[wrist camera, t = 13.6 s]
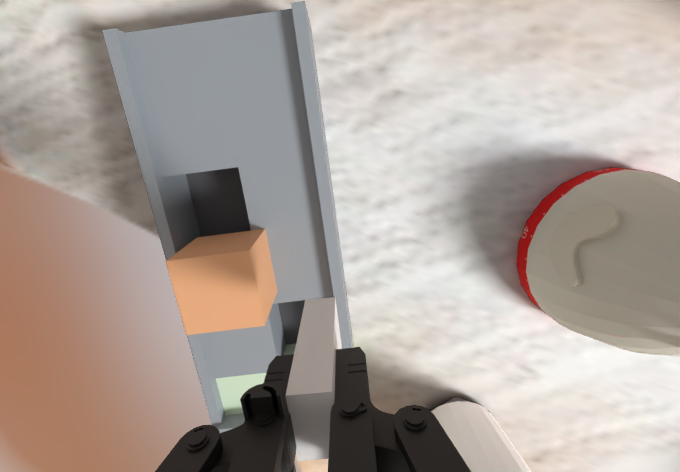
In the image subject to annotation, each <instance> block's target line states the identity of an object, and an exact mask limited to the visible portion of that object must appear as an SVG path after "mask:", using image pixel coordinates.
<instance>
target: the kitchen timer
mask: <svg viewBox="0 0 680 472" xmlns="http://www.w3.org/2000/svg"><path fill="white" fill-rule="evenodd" d="M517 268H518V273H519V277H520V282H521V285H522V287H523V288H524V290H525V291H526V293H527V295H528V296H529V298H530V299H531V301H532V302H533V303H534V304H536V305H537V306H538V307H539V308H540V309H541V310H543V311H544V312H545V313H546V314H548V315H549V316H550V317H551V318H553V319H554V320H555V321H556V322H558V323H559V324H561V325H562V326H564V327H566V328H568V329H570V330H572V331H575V332H577V333H580V334H582V335H585V336H588V337H590V338H593V339H596V340H599V341H601V342H604V343H607V344H609V345H612V346H615V347H618V348H621V349H624V350H628V351H632V352H637V353H644V354H655V355H669V356H680V182H678V181H675V180H673V179H671V178H669V177H666V176H663V175H661V174H658V173H654V172H649V171H641V170H632V169H622V168H611V167H610V168H605V169H600V170H595V171H590V172H585V173H583V174H581V175H579V176H577V177H575V178H573V179H571V180H569V181H567V182H565V183H562V184H561V185H560V186H559V187H557V188H556V189H555V190H554V191H553V192H551V193H550V194H549V195H548V196H547V197H545V198H544V199H543V200H542V201H541V202H540V204H539V205H538V207H537V208H536V209H535V211H534V212H533V213H532V215H531V216H530V217H529V219H528V220H527V222H526V225H525V227H524V230H523V233H522V235H521V238H520V240H519V243H518V254H517Z"/></svg>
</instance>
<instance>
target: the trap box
mask: <svg viewBox="0 0 680 472" xmlns="http://www.w3.org/2000/svg"><path fill="white" fill-rule="evenodd" d="M291 5H292V9H287V10H280V11H273V12H266V13H259V14H252V15H245V16H238V17H231V18H224V19H217V20H210V21H203V22H196V23H189V24H182V25H175V26H168V27H161V28H154V29H147V30H140V31H133V32H126V33H124V32H122V31H120V30H118V29H116V28H113V29H106V30H102V32H103V35H104V39H105V42H106V46H107V49H108V53H109V57H110V60H111V64H112V67H113V71H114V75H115V78H116V82H117V85H118V89H119V93H120V96H121V100H122V103H123V107H124V111H125V114H126V118H127V121H128V125H129V129H130V132H131V136H132V139H133V143H134V147H135V150H136V154H137V157H138V161H139V164H140V168H141V172H142V175H143V179H144V182H145V186H146V190H147V193H148V197H149V200H150V204H151V208H152V211H153V215H154V218H155V222H156V226H157V229H158V233H159V236H160V240H161V243H162V247H163V251H164V254H165V258H166V261H167V260H168V259H169V258H171V257H172V256H173V255H175V254H176V253H177V252H179V251H180V250H181V249H182V248H184V247H185V246H186V245H188V244H189V243H190V242H192V241H193V240H194V239H196V238H197V237H204V236H212V235H220V234H228V233H236V232H244V231H251V230H259V229H265V230H266V235H267V240H268V246H269V251H270V256H271V261H272V266H273V271H274V277H275V282H276V287H277V294H276V297H275V300H274V302H273V305H272V308H271V310H270V313H269V316H268V318H267V321H266V324H265V326H259V327H251V328H243V329H234V330H226V331H218V332H209V333H201V334H193V335H187V337H188V341H189V344H190V348H191V351H192V355H193V358H194V362H195V366H196V369H197V373H198V377H199V380H200V384H201V387H202V391H203V395H204V398H205V401H206V405H207V409H208V412H209V416H210V420H211V423H212V426H215V427H216V428H217V429H218V430H219V432H220V433H222V432H225V431H228V430H231V429H233V428H236V427H238V426H240V425H242V424H243V423H244V421H245V418H244V414H243V409H242V405H241V401H240V399H241V397H242V395H243V394H244V393H245V392H246V391H247V390H248V389H250V388H252V387H254V386H256V385H259V384H263V382H264V379H265V376H266V372H267V369H268V366H269V364H270V363H271V361H272V360H273V359H274V358H275V357H276V356H281V355H291V354H294V352H295V347H296V342H297V337H298V333H299V328H300V323H301V318H302V313H303V308H304V304H305V300H310V299H320V298H330V297H335V298H336V306H337V314H338V321H339V329H340V337H341V344H342V349H345V348H354V346H353V338H352V331H351V323H350V316H349V308H348V301H347V293H346V286H345V279H344V271H343V264H342V256H341V249H340V241H339V234H338V226H337V219H336V211H335V204H334V196H333V189H332V181H331V174H330V167H329V159H328V152H327V144H326V137H325V129H324V122H323V114H322V107H321V99H320V92H319V84H318V77H317V69H316V62H315V54H314V47H313V40H312V32H311V25H310V21H309V17H308V13H307V9H306V5H305V1H301V2H294V3H291Z"/></svg>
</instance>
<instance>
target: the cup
mask: <svg viewBox="0 0 680 472" xmlns="http://www.w3.org/2000/svg"><path fill="white" fill-rule="evenodd" d="M431 412H432V413H433V414H434V415H435V417H436V418H437V420H438V421H439V423H440V424H441V426H442V427H443V429H444V430H445V432H446V434H447V435H448V437H449V438H450V440H451V441H452V443H453V444H454V446H455V447H456V449H457V450H458V452H459V453H460V455H461V456H462V458H463V460H464V461H465V463H466V464H467V466H468V467H469V469H470V470H471V472H532V471H531V470H530V469H529V467H528V466H527V464H526V463H525V461H524V460H523V459H522V457H521V456H520V454H519V453H518V451H517V450H516V449H515V447H514V446H513V444H512V443H511V441H510V440H509V439H508V437H507V436H506V434H505V433H504V432H503V430H502V429H501V427H500V426H499V424H498V423H497V422H496V420H495V419H494V417H493V416H492V415H491V414H490V412H489V411H488V410H487V409H485V408H484V407H482V406H481V405H479V404H476V403H472V402H469V401H467V400H463V399H461V398H458V397H454V398H452V399H450V400H449V401H448V402H446V403H445V404H443V405H441V406H438V407H437V408H435V409H433V410H431Z"/></svg>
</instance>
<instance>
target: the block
mask: <svg viewBox="0 0 680 472" xmlns="http://www.w3.org/2000/svg"><path fill="white" fill-rule="evenodd" d="M166 264H167V268H168V271H169V275H170V278H171V282H172V285H173V289H174V293H175V296H176V299H177V303H178V307H179V310H180V314H181V318H182V321H183V325H184V328H185V332H186V335H193V334H201V333H209V332H218V331H226V330H234V329H243V328H251V327H259V326H265V324H266V321H267V318H268V316H269V313H270V310H271V308H272V305H273V302H274V300H275V297H276V294H277V287H276V282H275V277H274V271H273V266H272V261H271V256H270V251H269V246H268V240H267V235H266V230H265V229H259V230H251V231H244V232H236V233H228V234H220V235H212V236H204V237H197V238H196V239H194V240H193V241H192V242H190V243H189V244H188V245H186V246H185V247H184V248H182V249H181V250H180V251H179V252H177V253H176V254H175V255H173V256H172V257H171V258H169V259H168V260H167V261H166Z"/></svg>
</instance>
